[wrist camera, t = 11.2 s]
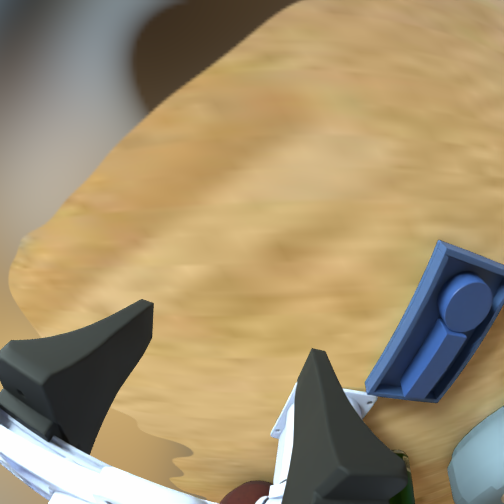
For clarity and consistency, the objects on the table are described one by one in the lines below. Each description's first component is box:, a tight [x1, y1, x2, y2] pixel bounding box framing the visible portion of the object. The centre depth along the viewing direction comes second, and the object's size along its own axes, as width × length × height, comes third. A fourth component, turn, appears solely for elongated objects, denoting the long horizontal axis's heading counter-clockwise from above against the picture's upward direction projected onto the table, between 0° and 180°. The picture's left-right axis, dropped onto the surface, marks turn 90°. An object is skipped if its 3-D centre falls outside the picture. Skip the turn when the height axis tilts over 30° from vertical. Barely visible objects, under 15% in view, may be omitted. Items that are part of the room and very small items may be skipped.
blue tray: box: [365, 240, 504, 403], centre depth 21 cm, size 14×8×2 cm, turn 167°
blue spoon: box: [400, 271, 492, 399], centre depth 20 cm, size 11×4×2 cm, turn 167°
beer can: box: [389, 450, 415, 504], centre depth 24 cm, size 5×5×12 cm
